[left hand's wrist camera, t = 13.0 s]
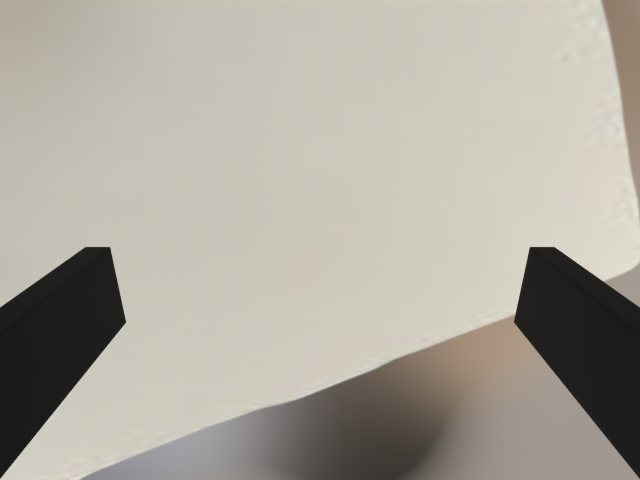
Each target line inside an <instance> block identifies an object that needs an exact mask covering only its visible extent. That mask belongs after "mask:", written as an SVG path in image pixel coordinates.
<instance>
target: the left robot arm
mask: <svg viewBox="0 0 640 480" xmlns="http://www.w3.org/2000/svg"><path fill="white" fill-rule="evenodd" d="M125 323H126V320H125V315H124V310H123V306H122V301H121V296H120V292H119V287H118V282H117V278H116V273H115V268H114V263H113V259H112V254H111V249H110V247H85V248H84V249H82V250H81V251H79V252H78V253H77V254H75V255H74V256H72V257H71V258H70V259H68V260H67V261H65V262H64V263H62V264H61V265H60V266H58V267H57V268H55V269H54V270H53V271H51V272H50V273H48V274H47V275H46V276H44V277H43V278H41V279H40V280H38V281H37V282H36V283H34V284H33V285H31V286H30V287H29V288H27V289H26V290H24V291H23V292H22V293H20V294H19V295H17V296H16V297H14V298H13V299H12V300H10V301H9V302H7V303H6V304H5V305H3V306H2V307H0V478H1V477H2V476H3V475H4V473H5V472H6V471H7V470H8V468H9V467H10V466H11V465H12V463H13V462H14V461H15V460H16V458H17V457H18V456H19V455H20V454H21V452H22V451H23V450H24V449H25V447H26V446H27V445H28V444H29V442H30V441H31V440H32V439H33V437H34V436H35V435H36V434H37V432H38V431H39V430H40V429H41V427H42V426H43V425H44V424H45V422H46V421H47V420H48V419H49V417H50V416H51V415H52V414H53V412H54V411H55V410H56V409H57V407H58V406H59V405H60V404H61V403H62V401H63V400H64V399H65V398H66V396H67V395H68V394H69V393H70V391H71V390H72V389H73V388H74V386H75V385H76V384H77V383H78V381H79V380H80V379H81V378H82V376H83V375H84V374H85V373H86V371H87V370H88V369H89V368H90V366H91V365H92V364H93V363H94V361H95V360H96V359H97V358H98V357H99V355H100V354H101V353H102V352H103V350H104V349H105V348H106V347H107V345H108V344H109V343H110V342H111V340H112V339H113V338H114V337H115V335H116V334H117V333H118V332H119V330H120V329H121V328H122V327H123V325H124V324H125ZM514 323H515V324H516V325H517V327H518V328H519V329H520V330H521V332H522V333H523V334H524V335H525V337H526V338H527V339H528V340H529V342H530V343H531V344H532V345H533V347H534V348H535V349H536V350H537V352H538V353H539V354H540V355H541V357H542V358H543V359H544V360H545V361H546V363H547V364H548V365H549V366H550V368H551V369H552V370H553V371H554V372H555V374H556V375H557V376H558V378H559V379H560V380H561V381H562V383H563V384H564V385H565V386H566V388H567V389H568V390H569V391H570V392H571V394H572V395H573V396H574V398H575V399H576V400H577V401H578V403H579V404H580V405H581V406H582V407H583V409H584V410H585V411H586V412H587V414H588V415H589V416H590V417H591V419H592V420H593V421H594V422H595V424H596V425H597V426H598V427H599V429H600V430H601V431H602V432H603V434H604V435H605V436H606V437H607V439H608V440H609V441H610V442H611V444H612V445H613V446H614V447H615V449H616V450H617V451H618V452H619V453H620V455H621V456H622V457H623V458H624V460H625V461H626V462H627V463H628V465H629V466H630V467H631V468H632V470H633V471H634V472H635V473H636V475H637V476H638V477H639V478H640V307H638V306H637V305H635V304H634V303H633V302H631V301H630V300H628V299H627V298H626V297H624V296H623V295H621V294H620V293H618V292H617V291H616V290H614V289H613V288H611V287H610V286H609V285H607V284H606V283H604V282H603V281H602V280H600V279H599V278H597V277H596V276H594V275H593V274H592V273H590V272H589V271H587V270H586V269H585V268H583V267H582V266H580V265H579V264H578V263H576V262H575V261H573V260H572V259H570V258H569V257H568V256H566V255H565V254H563V253H562V252H561V251H559V250H558V249H556V248H555V247H530V249H529V254H528V259H527V263H526V268H525V273H524V278H523V282H522V287H521V292H520V296H519V301H518V306H517V310H516V315H515V320H514Z"/></svg>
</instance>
